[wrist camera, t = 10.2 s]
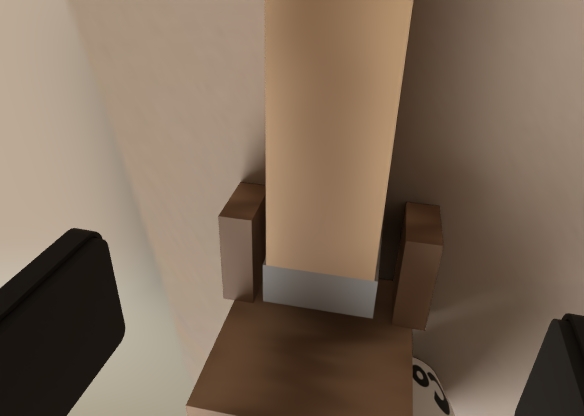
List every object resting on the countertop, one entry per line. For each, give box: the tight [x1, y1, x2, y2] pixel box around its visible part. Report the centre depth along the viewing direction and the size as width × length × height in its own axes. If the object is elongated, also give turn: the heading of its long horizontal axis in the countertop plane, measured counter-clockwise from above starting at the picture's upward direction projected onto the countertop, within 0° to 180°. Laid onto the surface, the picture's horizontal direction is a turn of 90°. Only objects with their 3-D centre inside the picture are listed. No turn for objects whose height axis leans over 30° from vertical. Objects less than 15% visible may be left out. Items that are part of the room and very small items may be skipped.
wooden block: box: [263, 0, 413, 319], centre depth 20 cm, size 5×14×6 cm, turn 178°
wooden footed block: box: [186, 182, 444, 416], centre depth 22 cm, size 10×8×11 cm
